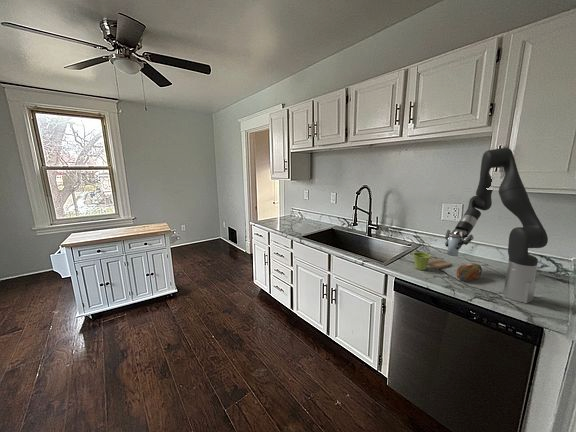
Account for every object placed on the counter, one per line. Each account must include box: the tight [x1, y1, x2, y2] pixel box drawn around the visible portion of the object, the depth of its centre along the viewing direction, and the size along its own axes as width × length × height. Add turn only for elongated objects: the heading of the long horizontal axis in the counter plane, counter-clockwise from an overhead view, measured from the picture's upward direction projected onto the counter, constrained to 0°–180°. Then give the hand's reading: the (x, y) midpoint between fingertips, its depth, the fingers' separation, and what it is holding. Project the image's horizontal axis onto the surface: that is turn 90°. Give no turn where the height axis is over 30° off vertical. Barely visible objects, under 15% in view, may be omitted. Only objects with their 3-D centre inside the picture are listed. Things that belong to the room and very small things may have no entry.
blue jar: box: [446, 233, 461, 257], centre depth 138 cm, size 6×6×12 cm
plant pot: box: [412, 251, 432, 271], centre depth 144 cm, size 9×9×9 cm
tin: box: [456, 262, 483, 282], centre depth 129 cm, size 15×3×8 cm, turn 105°
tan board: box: [427, 258, 453, 270], centre depth 149 cm, size 10×12×1 cm
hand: (451, 247), depth 137 cm, fingers closed on blue jar, 5 cm apart
